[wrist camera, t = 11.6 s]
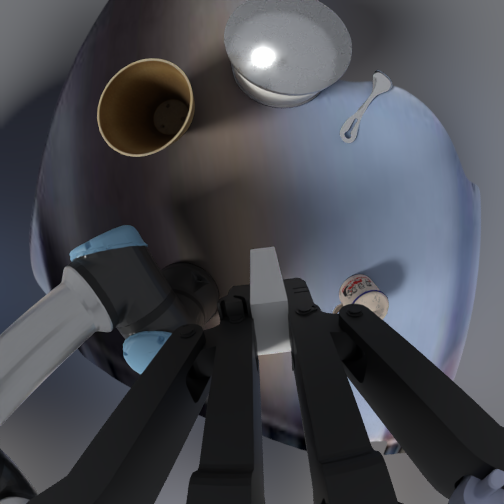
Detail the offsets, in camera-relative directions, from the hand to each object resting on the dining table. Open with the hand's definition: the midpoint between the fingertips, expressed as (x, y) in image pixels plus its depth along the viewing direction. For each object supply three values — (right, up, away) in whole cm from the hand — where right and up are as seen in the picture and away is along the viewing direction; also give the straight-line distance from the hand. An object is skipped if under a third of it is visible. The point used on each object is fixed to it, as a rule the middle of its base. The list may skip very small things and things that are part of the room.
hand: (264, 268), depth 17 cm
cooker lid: (+5, +34, +13) cm, 36 cm away
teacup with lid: (+22, -8, +42) cm, 48 cm away
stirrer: (+22, +31, +28) cm, 47 cm away
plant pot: (-16, +27, +29) cm, 43 cm away
